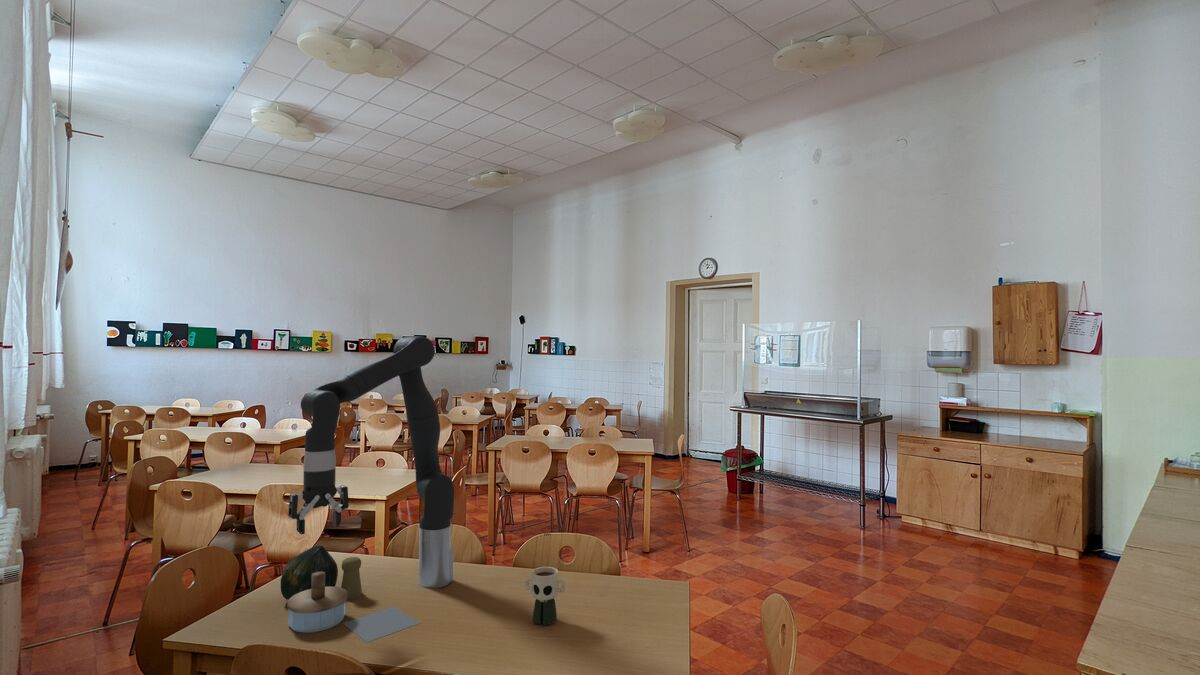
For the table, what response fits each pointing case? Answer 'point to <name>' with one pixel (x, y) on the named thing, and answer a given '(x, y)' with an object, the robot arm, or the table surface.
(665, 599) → the table surface
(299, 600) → the lid
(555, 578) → the character mug
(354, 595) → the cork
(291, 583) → the squash
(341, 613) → the bowl
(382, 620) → the mat
